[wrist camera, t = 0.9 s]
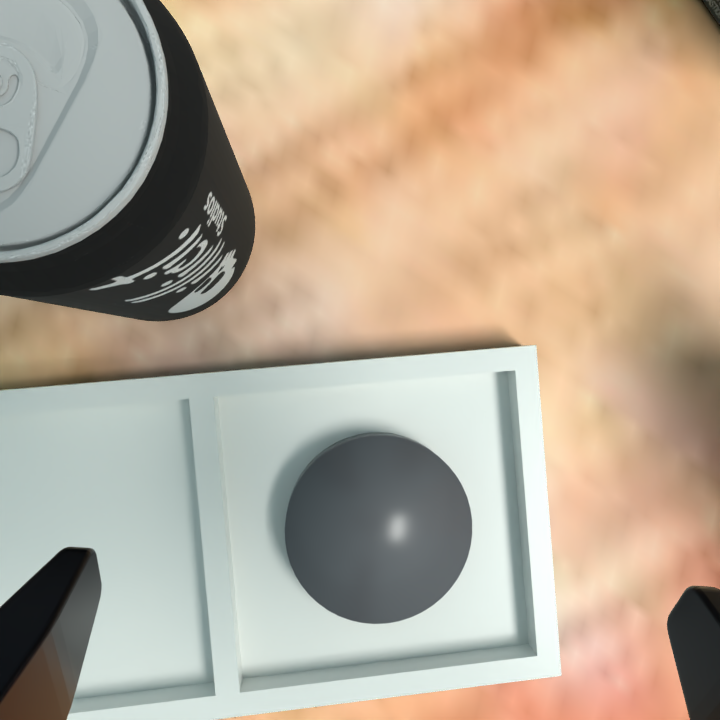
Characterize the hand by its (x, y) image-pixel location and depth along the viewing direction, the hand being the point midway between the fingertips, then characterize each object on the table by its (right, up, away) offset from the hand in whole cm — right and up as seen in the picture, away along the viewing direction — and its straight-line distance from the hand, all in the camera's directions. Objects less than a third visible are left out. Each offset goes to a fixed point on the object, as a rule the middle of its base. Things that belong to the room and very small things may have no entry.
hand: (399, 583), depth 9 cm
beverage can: (-8, +8, +13) cm, 17 cm away
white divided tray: (-6, -3, +13) cm, 14 cm away
